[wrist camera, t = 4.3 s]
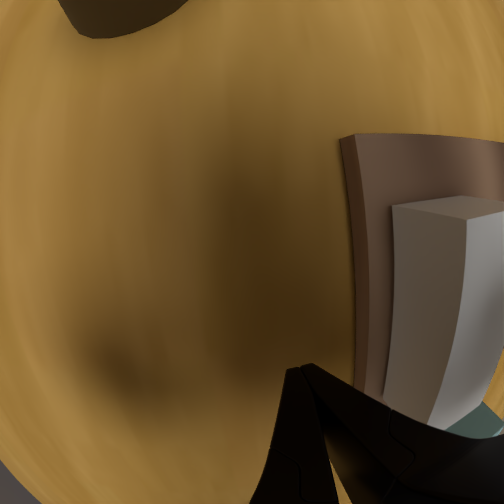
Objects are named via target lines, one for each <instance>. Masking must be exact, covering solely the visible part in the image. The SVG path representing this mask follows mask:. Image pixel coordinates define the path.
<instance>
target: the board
mask: <svg viewBox="0 0 504 504" xmlns="http://www.w3.org/2000/svg"><path fill="white" fill-rule="evenodd" d="M340 144H341V150H342V155H343V162H344V168H345V175H346V182H347V189H348V197H349V206H350V215H351V225H352V236H353V249H354V265H355V288H356V352H355V374H354V388H356V389H357V390H359V391H361V392H363V393H364V394H366V395H368V396H370V397H372V398H373V399H375V400H377V401H379V402H381V403H383V404H384V405H386V406H388V405H387V404H386V402H385V401H384V400H383V394H384V388H385V382H386V375H387V368H388V361H389V353H390V344H391V334H392V321H393V305H394V232H393V215H392V205H398V204H405V203H411V202H418V201H425V200H432V199H439V198H446V197H454V196H469V197H476V198H483V199H490V200H496V201H502V202H504V143H500V142H494V141H487V140H480V139H472V138H463V137H453V136H440V135H423V134H353V135H350V136H348V137H345V138H342V139H340ZM503 348H504V347H503ZM388 407H389V406H388Z"/></svg>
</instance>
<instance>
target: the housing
mask: <svg viewBox="0 0 504 504" xmlns="http://www.w3.org/2000/svg"><path fill="white" fill-rule="evenodd" d="M392 215H393V232H394V305H393V321H392V334H391V344H390V353H389V361H388V368H387V375H386V382H385V388H384V394H383V400H384V401H385V402H386V404H387V405H388V406H389V407H390V408H391V410H392V409H394V410H396V411H398V412H400V413H402V414H404V415H406V416H408V417H410V418H412V419H414V420H417V421H419V422H422V423H424V424H427V425H430V426H432V427H435V428H438V429H442V430H445V429H447V428H448V427H450V426H451V425H453V424H454V423H456V422H457V421H459V420H460V419H461V418H463V417H464V416H466V415H467V414H468V413H470V412H471V411H472V410H474V409H475V408H476V407H478V406H479V405H480V404H481V402H482V400H483V397H484V395H485V393H486V391H487V389H488V386H489V384H490V382H491V379H492V377H493V374H494V372H495V369H496V367H497V364H498V361H499V359H500V356H501V353H502V350H503V347H504V202H502V201H496V200H490V199H483V198H476V197H469V196H454V197H446V198H439V199H432V200H425V201H418V202H411V203H405V204H398V205H392Z"/></svg>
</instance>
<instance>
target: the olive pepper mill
mask: <svg viewBox="0 0 504 504" xmlns="http://www.w3.org/2000/svg"><path fill="white" fill-rule="evenodd" d="M58 1H59V3H60V5H61V7H62V8H63V10H64V12H65V13H66V15H67V17H68V18H69V20H70V22H71V23H72V25H73V26H74V28H75V29H76V30H77V31H78V33H79V34H81V35H84V36H87V37H90V38H113V37H117V36H121V35H125V34H130V33H133V32H136V31H138V30H140V29H143V28H145V27H148V26H150V25H153V24H155V23H157V22H158V21H160V20H162V19H163V18H165V17H167V16H168V15H170V14H172V13H173V12H175V11H176V10H177V9H178V8H180V7H181V6H182V5H183V4H184V3H185V2H186V1H188V0H58Z"/></svg>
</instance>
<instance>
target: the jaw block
mask: <svg viewBox="0 0 504 504" xmlns="http://www.w3.org/2000/svg"><path fill="white" fill-rule="evenodd" d="M503 427H504V422H503V421H502V420H501V419H500V418H499V417H498V416H497V415H496V414H495V413H494V412H493V411H492V410H491V409H490V408H489V407H488V406H487V405H486V404H485V403H484V402H483V401H482V402H481V404H480V405H479V406H478V407H476V408H475V409H474V410H472V411H471V412H470V413H468V414H467V415H466V416H464V417H463V418H461V419H460V420H459V421H457V422H456V423H454V424H453V425H451V426H450V427H448V428H447V429H445V431H448V432H451V433H454V434H458V435H461V436H465V437H469V438H480V439H482V438H489V437H494V436H498V435H499V433H500V432H501V430H502V429H503Z"/></svg>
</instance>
